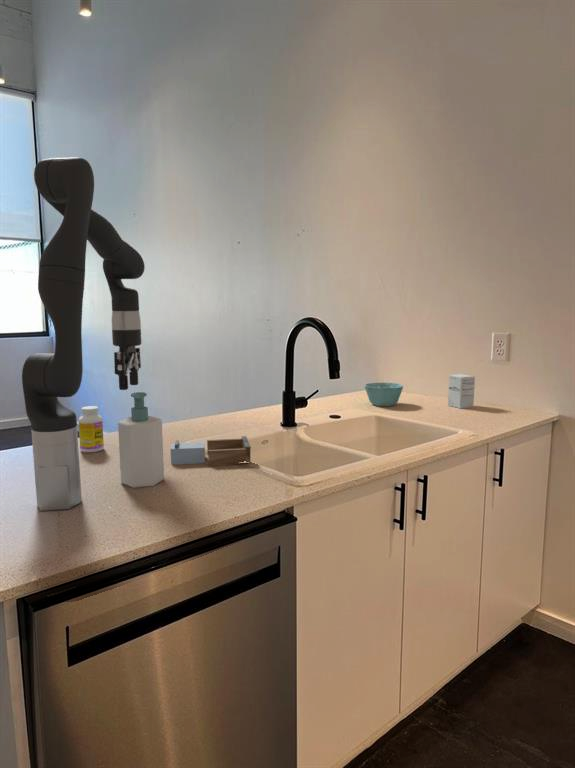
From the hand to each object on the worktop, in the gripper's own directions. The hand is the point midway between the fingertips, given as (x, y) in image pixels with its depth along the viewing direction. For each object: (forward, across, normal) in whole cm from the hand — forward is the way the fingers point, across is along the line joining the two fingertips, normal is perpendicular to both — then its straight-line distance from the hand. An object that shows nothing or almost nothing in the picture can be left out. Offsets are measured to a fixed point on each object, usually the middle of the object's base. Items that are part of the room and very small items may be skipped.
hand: (129, 387), depth 158 cm
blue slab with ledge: (+21, 0, -16) cm, 26 cm away
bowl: (+20, +82, -78) cm, 115 cm away
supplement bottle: (+20, +9, +15) cm, 27 cm away
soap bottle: (+21, -18, -9) cm, 29 cm away
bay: (+20, +2, -26) cm, 33 cm away
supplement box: (+20, +79, -108) cm, 136 cm away
